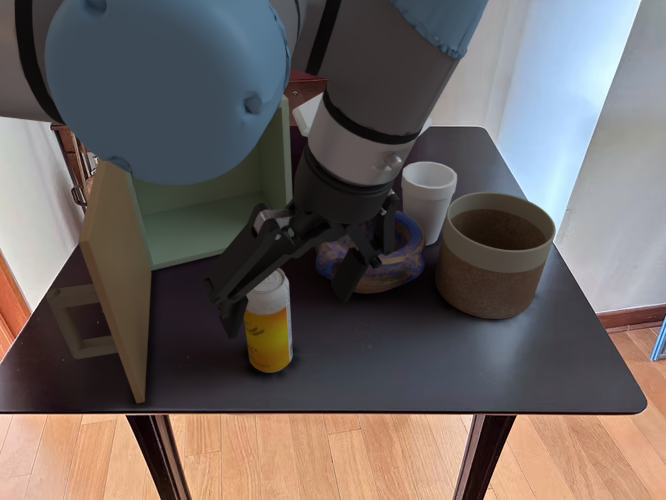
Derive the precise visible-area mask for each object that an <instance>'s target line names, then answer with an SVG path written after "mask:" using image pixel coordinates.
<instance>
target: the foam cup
mask: <svg viewBox="0 0 666 500" xmlns="http://www.w3.org/2000/svg"><path fill="white" fill-rule="evenodd" d="M400 183H401V185H400V186H401V188H402V189H401V191H402V212H403V213H404V214H406V215H408V216H409V217H411V218H412V219H413V220H415V221H416V222H417V223H418V224H419V225H420V227H421V228H422V230H423V232H424V236H425V240H426V244H425V246H430V245H433V244H435V243H436V242H437V241H438V239H439V236H440V234H441V231H442V227H443V226H444V223H445V217H446V212H447V209H448V207H449V205H450V204H451V202H452V198H453V196H454V194H455V193H456V188H457V183H458V174H457V172H456V171H454V169H453V168H451V167H449V166H447V165H445V164H444V163H439V162H435V161H417V162H413V163H408V164H407V165H406V166H405V167H403V168H402V175H401V182H400Z"/></svg>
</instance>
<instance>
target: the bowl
mask: <svg viewBox="0 0 666 500" xmlns="http://www.w3.org/2000/svg"><path fill="white" fill-rule="evenodd" d="M358 226H359V227H360V229H361V231H362V232H363V234H364V235H365V237H366V238H367V240H368V241H370V240H372V226H371V219H370V220H368V221H365V222H362V223H358ZM425 244H426V240H425V236H424V232H423V230H422V228H421V227H420V225H419V224H418V223H417V222H416V221H415V220H413V219H412V218H411V217H409V216H408V215H406V214H404V213H403V211H400V210H398V209H397V210H396V212H395V220H394V251H393V252H392V253H391V254H390V255H388V256H384V254H383V253H382V254H380V255H378V257H379V258H380V260H381V261H382V265H381V266H380V267H378V268H376V269H372V267H371V266H370V265H369V267H368V268H367V270H366V272H365V274H364V275H363V276H362V277H361V279H360V281H359V283H358V284H357V286H356V288H355V289H354V291H353V293H356V294H365V295H367V294H368V295H369V294H379V293H384V292H387V291H389V290H392V289H394V288H395V289H396V288H397V287H400V286H402V285H405V284H407V283H409V282H411V281H413V280H415V279H417V278H418V277H419V276H420V275H421V274H422V272H423V271H424V269H425V264H426V263H425V259H424V257H423V256H424V254H425V250H426V245H425ZM352 247H355V248H356V250H357V251H358V248H357V246H356V245H355V244H354V242H353V241H352V240H351V238H350V237H349V236H348V234H346V235H344V236H343V237H341V238H339V240H338V241H334V242H325V243H322V244H320V245H318V246H314V247H313V248H314V251H315V253H316V258H315V269H316V271H317V272H318V274H320V275H321V276H323V277H325V278H327V279H328V280H330V281H331V282H332V281H333V279H334V277H335V275H336V273H337V271H338V269H339V267H340V265H341V263H342V261H343V259H344V257H345V255H346V253H347V251H348V249H349V248H352Z"/></svg>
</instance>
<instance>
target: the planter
mask: <svg viewBox="0 0 666 500" xmlns="http://www.w3.org/2000/svg"><path fill="white" fill-rule="evenodd" d="M556 230H557V228H556V224H555V222H554V220H553V219H552V217H551V216H550V215H549V214H548V213H547V212H546V211H545V210H544V209H543V208H542V207H540V206H539V205H537V204H535V203H533V202H531V201H530V200H527V199H525V198H522V197H519V196H517V195H514V194H509V193H503V192H496V191H477V192H470V193H467V194H464V195H461V196H459V197H457V198H455V199H454V200H453V201H451V202H450V204H449V207H448V209H447V212H446V216H445V219H444V222H443V229H442V235H441V240H440V245H439V252H438V258H437V262H436V267H435V273H434V283H435V286H436V289H437V291H438V293H439V294H440V295H441V297H442V298H443V299H444V300H445V301H446V302H447V303H448V304H449V305H450V306H452V307H454V308H455V309H457V310H459V311H461V312H463V313H466V314H468V315H470V316H474V317H478V318H483V319H491V320H492V319H493V320H497V319H498V320H499V319H500V320H501V319H508V318H513V317H516V316H518V315H520V314H523V312H525V311H526V310H527V309H529V307H530V306H531V304H532V303H533V300H534V298H535V294H536V292H537V289H538V286H539V283H540V280H541V278H542V275H543V273H544V268H545V266H546V263H547V260H548V257H549V254H550V251H551V249H552V246H553V243H554V239H555V237H556V233H557V231H556Z"/></svg>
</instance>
